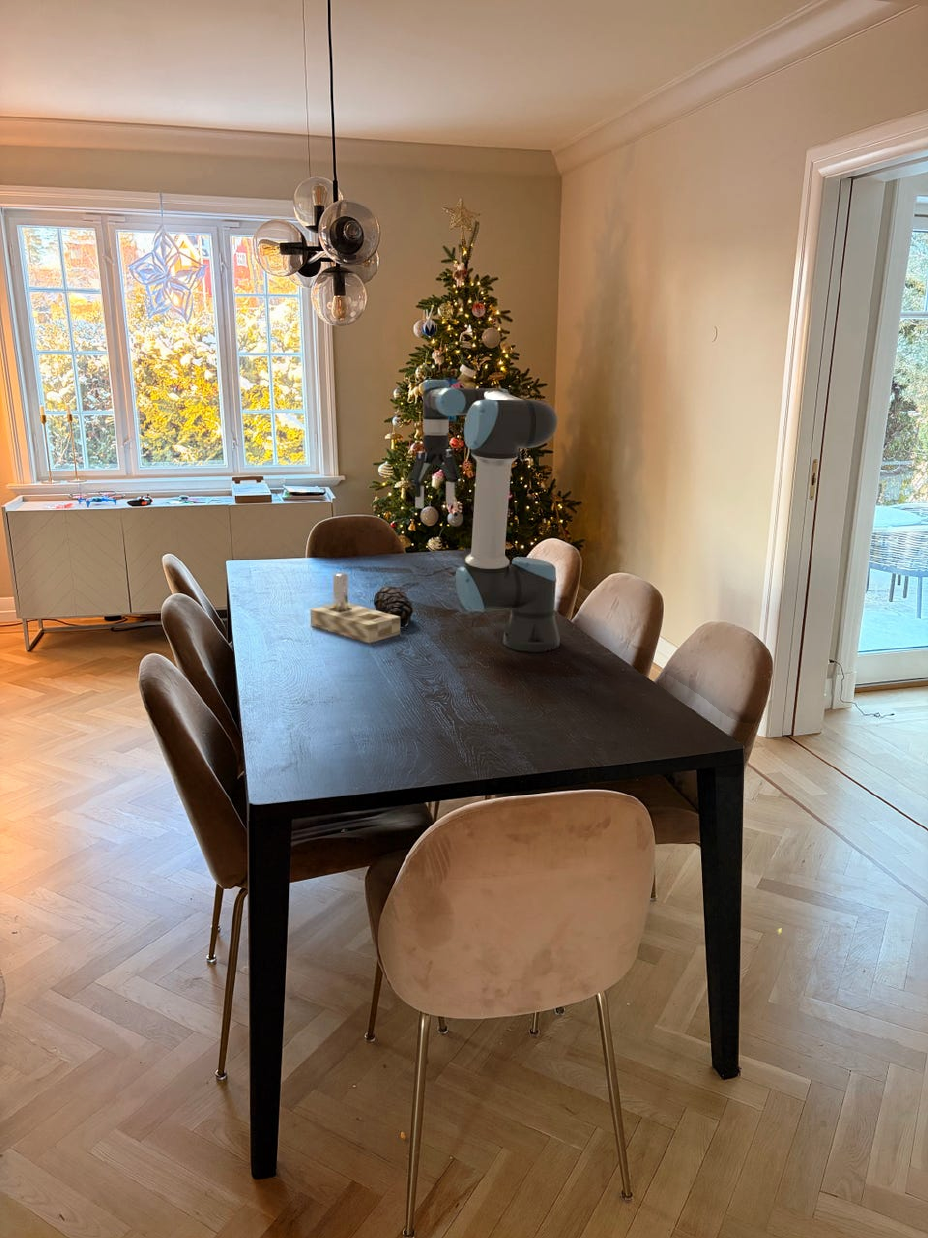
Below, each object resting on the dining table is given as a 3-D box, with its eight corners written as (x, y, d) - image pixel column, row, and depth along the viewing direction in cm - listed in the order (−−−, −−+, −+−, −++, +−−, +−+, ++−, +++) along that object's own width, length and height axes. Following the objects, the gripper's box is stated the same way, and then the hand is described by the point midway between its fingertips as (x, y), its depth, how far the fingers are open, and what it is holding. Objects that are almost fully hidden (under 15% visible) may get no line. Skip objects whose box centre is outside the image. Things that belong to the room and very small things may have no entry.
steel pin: (350, 622, 255) (350, 574, 252) (340, 625, 252) (339, 576, 249) (341, 619, 258) (341, 572, 254) (331, 622, 255) (330, 574, 251)
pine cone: (391, 631, 251) (390, 597, 248) (368, 616, 266) (368, 583, 264) (424, 627, 255) (425, 593, 253) (400, 612, 271) (400, 580, 268)
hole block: (400, 634, 249) (400, 616, 247) (368, 643, 240) (368, 625, 238) (342, 618, 264) (342, 601, 262) (310, 626, 255) (310, 609, 253)
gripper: (454, 431, 275) (453, 500, 280) (396, 434, 256) (396, 508, 262) (472, 432, 270) (471, 503, 276) (415, 436, 252) (415, 511, 257)
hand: (435, 505), depth 269 cm, fingers open, 13 cm apart
